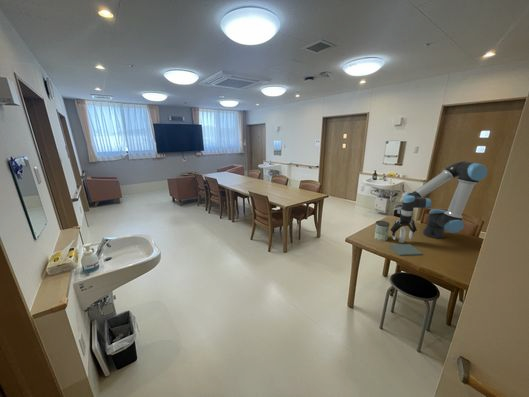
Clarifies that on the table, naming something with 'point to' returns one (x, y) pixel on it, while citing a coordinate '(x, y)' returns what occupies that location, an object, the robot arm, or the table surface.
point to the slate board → (405, 249)
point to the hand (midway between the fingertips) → (401, 238)
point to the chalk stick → (402, 235)
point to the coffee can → (381, 230)
